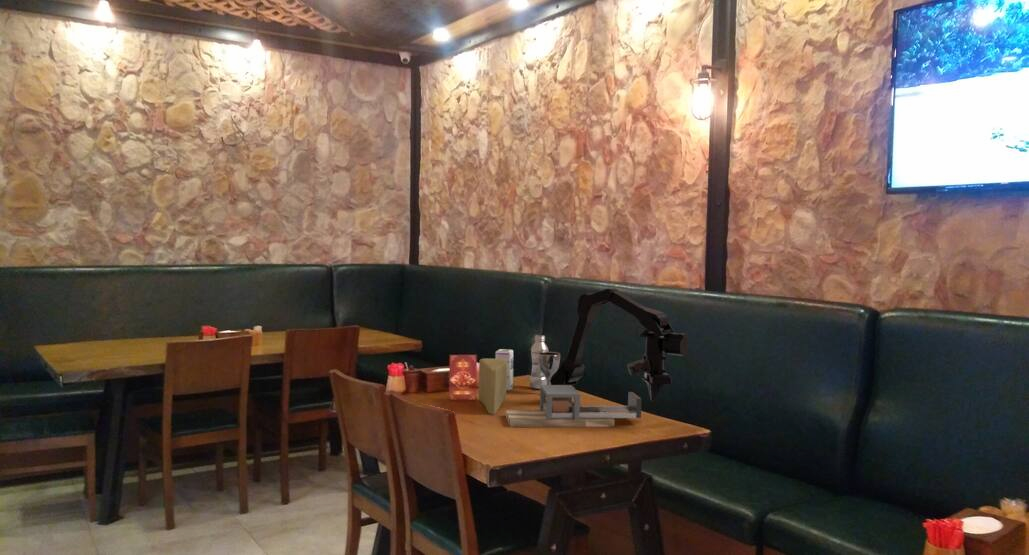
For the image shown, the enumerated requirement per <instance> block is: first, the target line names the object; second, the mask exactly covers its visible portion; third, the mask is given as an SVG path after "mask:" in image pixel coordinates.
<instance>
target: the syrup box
mask: <svg viewBox="0 0 1029 555" xmlns="http://www.w3.org/2000/svg"><path fill="white" fill-rule="evenodd" d="M495 359H506V360H507V387H506V391H508V392H509V391H511V390H512V389H513V388H514V350H513V349H509V348H508V349H507V348H506V349H505V348H502V349H501V348H499V349H498V350H496V351H495Z"/></svg>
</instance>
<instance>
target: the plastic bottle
mask: <svg viewBox="0 0 1029 555" xmlns="http://www.w3.org/2000/svg"><path fill="white" fill-rule="evenodd" d="M545 341H546V336H545V334H544V335H543V334H540V335H539V334H536V335H534V344H532V346H531V349H530V354H531V363H532V364H531V372H530V373H531V374H530V379H529V385H530V387H531V389H536V390H540V386H541V385H547V379H546V376H545V375H544V374H543V372H542V371H541V370H540V368H539V363H538V353H539V352H549V347H548V346H547V344H546V343H545Z"/></svg>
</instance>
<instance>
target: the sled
mask: <svg viewBox="0 0 1029 555" xmlns="http://www.w3.org/2000/svg"><path fill="white" fill-rule="evenodd" d="M627 394H628V395H627V396H628V397H627V398H628V399H627V405H580V411H606V412H580V413H579V418H613V419H641V418H642V402H643V401H642V398H641V396H639V395H637V394H636V393H635V392H634V391H628V393H627ZM573 403H574V402H573ZM573 403H572V402H569V412H552V418H574V405H573ZM542 411H543V412H544V414H545V415H546V401H545V402H543V406H542Z"/></svg>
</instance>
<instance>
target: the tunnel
mask: <svg viewBox="0 0 1029 555" xmlns="http://www.w3.org/2000/svg"><path fill="white" fill-rule="evenodd" d="M539 391H540V392H539V393H540V395H539V410H540V411H542V406H543V402H546V420H552V397H566V398H567V399H568V400H569V402H572V401H573V403H574V418H573V419H574V420H579V413H580V406H581V405H580V404H581V393H580V392H578V390H577V389H576V388H575V387H574V385H551V384H549V385H541V386H540V389H539Z"/></svg>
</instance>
